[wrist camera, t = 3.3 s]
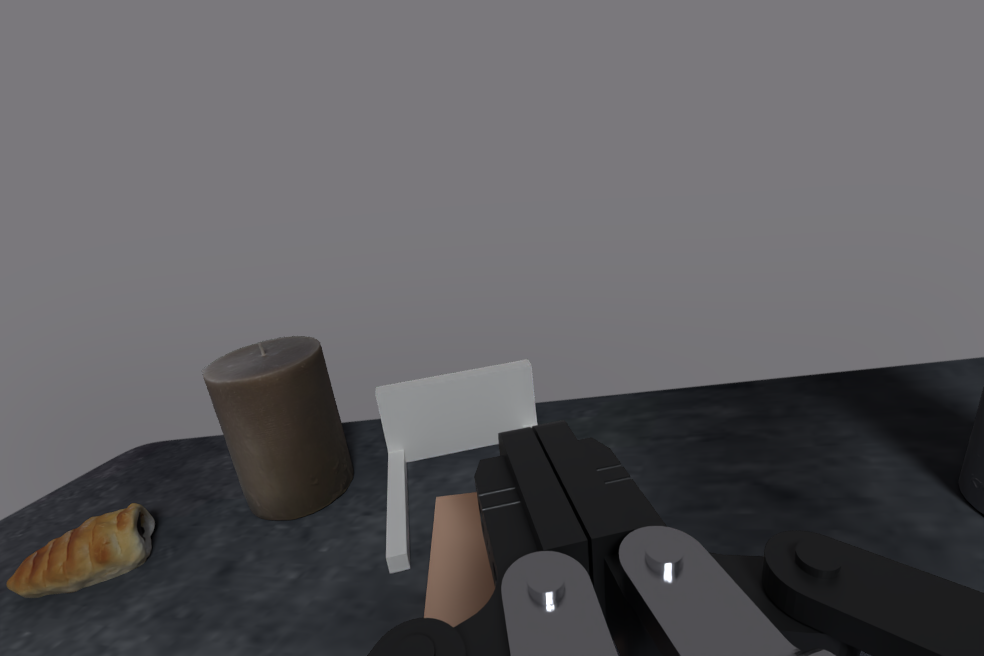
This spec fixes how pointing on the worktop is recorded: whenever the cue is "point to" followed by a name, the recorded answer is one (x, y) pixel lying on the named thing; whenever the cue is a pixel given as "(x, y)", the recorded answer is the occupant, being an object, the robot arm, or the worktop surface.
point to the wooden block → (457, 561)
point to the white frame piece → (446, 428)
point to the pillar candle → (281, 426)
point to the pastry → (87, 554)
